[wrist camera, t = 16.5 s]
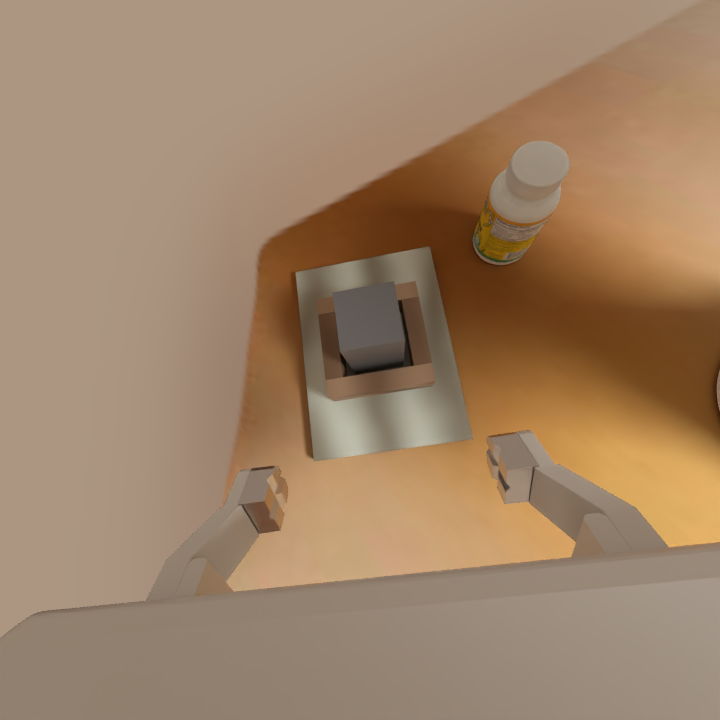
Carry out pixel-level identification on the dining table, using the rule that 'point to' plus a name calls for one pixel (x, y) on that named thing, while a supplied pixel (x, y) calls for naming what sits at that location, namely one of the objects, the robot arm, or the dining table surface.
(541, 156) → the supplement bottle
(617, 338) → the dining table surface
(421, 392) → the socket holder
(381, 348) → the plug block
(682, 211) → the dining table surface
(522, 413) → the dining table surface
